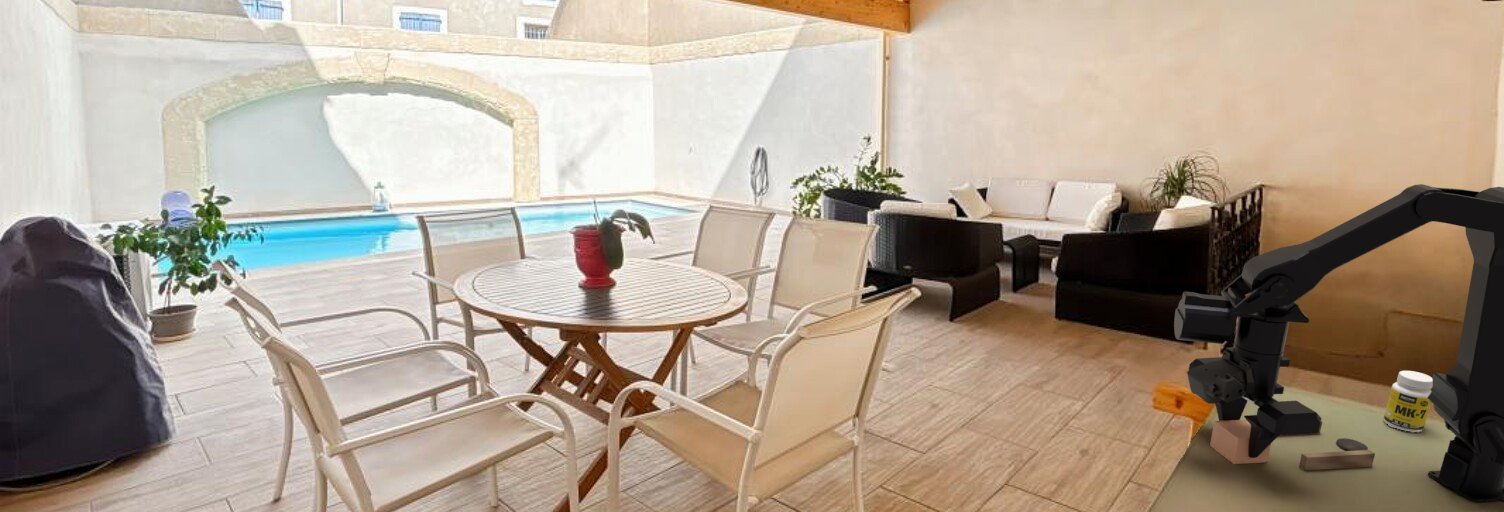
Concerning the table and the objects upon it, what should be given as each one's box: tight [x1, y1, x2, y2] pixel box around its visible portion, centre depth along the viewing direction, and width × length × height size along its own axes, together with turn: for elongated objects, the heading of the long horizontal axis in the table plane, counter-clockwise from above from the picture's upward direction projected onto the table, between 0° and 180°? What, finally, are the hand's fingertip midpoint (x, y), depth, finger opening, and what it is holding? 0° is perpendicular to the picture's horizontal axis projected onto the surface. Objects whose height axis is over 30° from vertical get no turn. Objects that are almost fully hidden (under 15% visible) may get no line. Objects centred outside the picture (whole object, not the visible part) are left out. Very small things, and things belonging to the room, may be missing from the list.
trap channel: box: [1278, 420, 1376, 471], centre depth 109 cm, size 13×10×2 cm
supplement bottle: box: [1383, 370, 1433, 432], centre depth 114 cm, size 5×5×8 cm
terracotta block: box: [1209, 419, 1272, 465], centre depth 107 cm, size 5×5×4 cm
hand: (1239, 447), depth 108 cm, fingers closed on terracotta block, 5 cm apart
